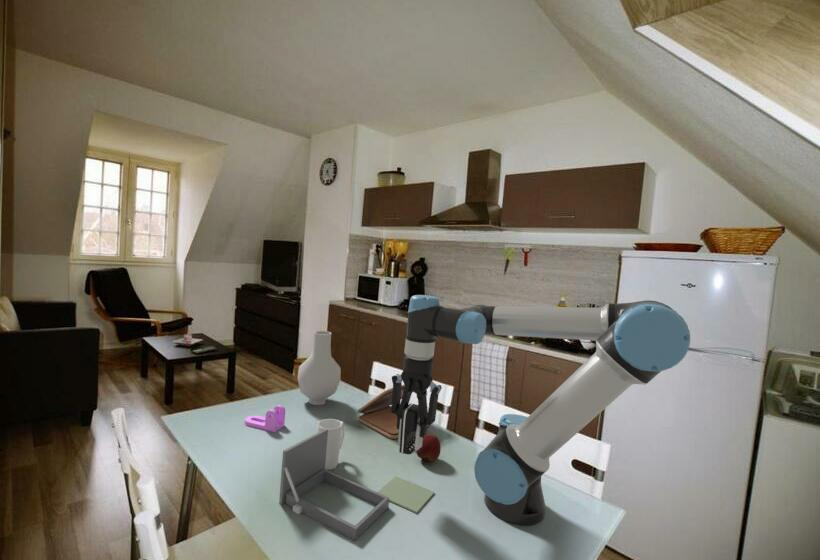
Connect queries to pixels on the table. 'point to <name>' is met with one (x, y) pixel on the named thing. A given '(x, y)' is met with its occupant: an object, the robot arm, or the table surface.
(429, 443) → the apple
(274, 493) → the table surface
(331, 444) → the mug
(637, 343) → the robot arm
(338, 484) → the case
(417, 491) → the mat
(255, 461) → the table surface
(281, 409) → the bracket
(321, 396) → the vase
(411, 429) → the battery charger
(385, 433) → the case
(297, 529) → the table surface
